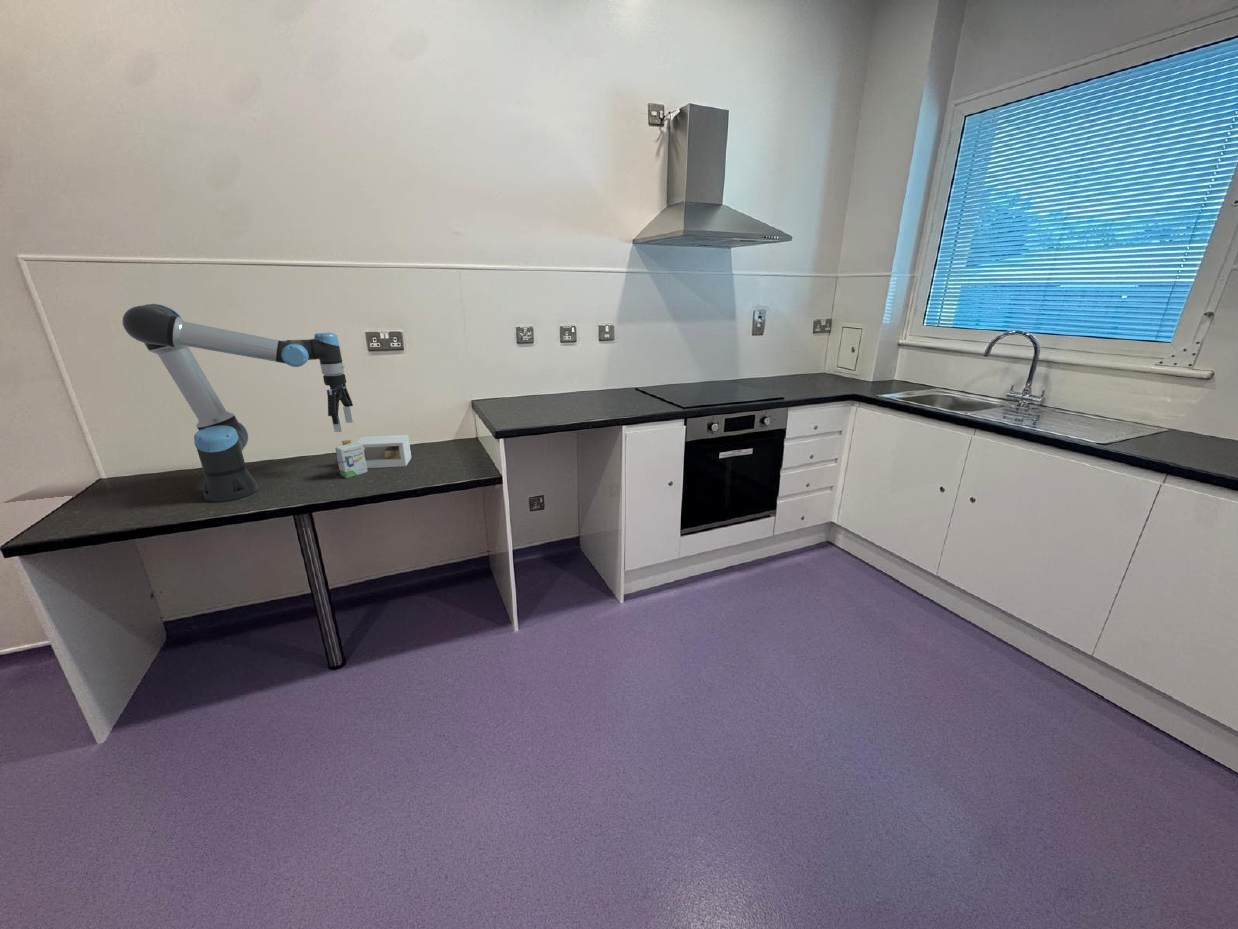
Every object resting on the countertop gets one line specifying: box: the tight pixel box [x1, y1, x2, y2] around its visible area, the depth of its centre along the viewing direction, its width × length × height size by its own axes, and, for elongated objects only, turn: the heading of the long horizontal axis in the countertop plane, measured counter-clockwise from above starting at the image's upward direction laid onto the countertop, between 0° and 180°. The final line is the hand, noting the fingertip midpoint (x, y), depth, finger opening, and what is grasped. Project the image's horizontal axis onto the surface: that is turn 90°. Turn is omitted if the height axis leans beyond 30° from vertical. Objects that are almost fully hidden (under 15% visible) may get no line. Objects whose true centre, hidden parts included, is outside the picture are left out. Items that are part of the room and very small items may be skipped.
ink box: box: [335, 441, 368, 479], centre depth 192 cm, size 9×5×12 cm, turn 143°
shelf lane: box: [356, 434, 412, 469], centre depth 204 cm, size 18×11×10 cm, turn 101°
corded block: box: [341, 439, 401, 459], centre depth 203 cm, size 22×6×10 cm, turn 101°
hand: (344, 426), depth 198 cm, fingers open, 13 cm apart
